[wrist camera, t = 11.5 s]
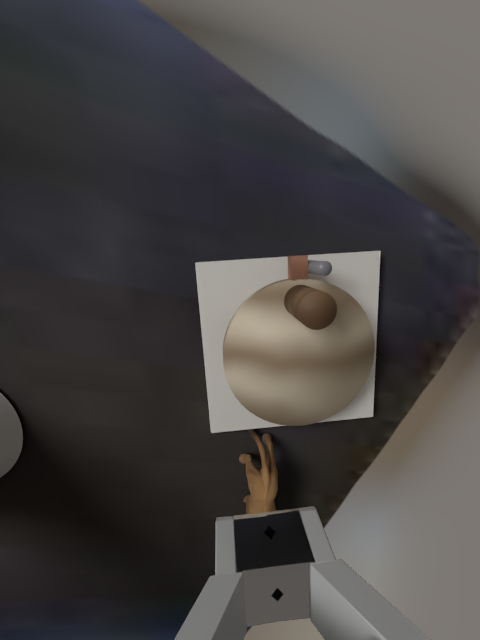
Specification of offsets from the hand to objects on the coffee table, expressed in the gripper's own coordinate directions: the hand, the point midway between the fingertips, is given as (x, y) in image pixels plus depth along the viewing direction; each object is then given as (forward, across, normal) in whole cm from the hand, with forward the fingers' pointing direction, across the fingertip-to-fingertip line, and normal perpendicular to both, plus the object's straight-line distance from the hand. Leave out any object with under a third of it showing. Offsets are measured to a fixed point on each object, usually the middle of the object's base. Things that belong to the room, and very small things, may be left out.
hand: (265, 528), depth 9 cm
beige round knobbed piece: (+21, -7, +1) cm, 22 cm away
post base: (+24, -6, +2) cm, 25 cm away
